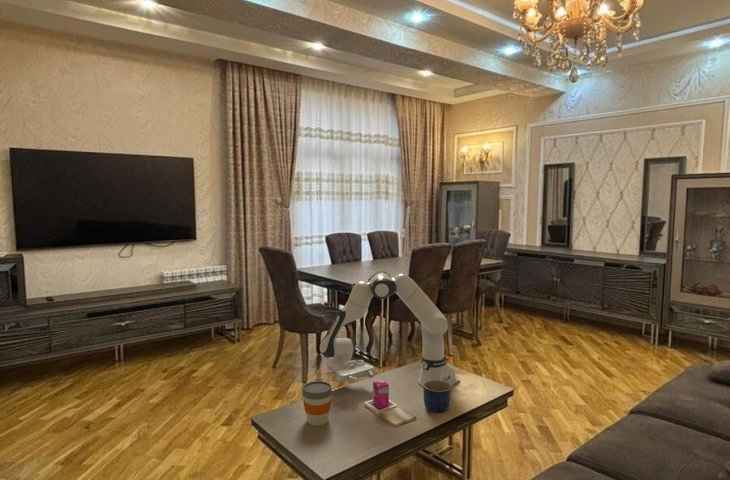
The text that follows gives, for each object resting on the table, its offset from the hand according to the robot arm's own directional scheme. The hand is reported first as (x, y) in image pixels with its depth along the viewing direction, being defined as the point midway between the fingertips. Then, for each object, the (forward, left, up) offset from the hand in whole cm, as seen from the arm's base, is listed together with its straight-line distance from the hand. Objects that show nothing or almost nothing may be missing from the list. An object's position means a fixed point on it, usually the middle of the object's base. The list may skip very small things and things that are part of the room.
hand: (364, 378), depth 213 cm
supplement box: (0, +12, -10) cm, 16 cm away
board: (0, +24, -9) cm, 26 cm away
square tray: (0, +12, -9) cm, 16 cm away
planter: (-20, +28, -10) cm, 36 cm away
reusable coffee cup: (+30, +6, -10) cm, 32 cm away
